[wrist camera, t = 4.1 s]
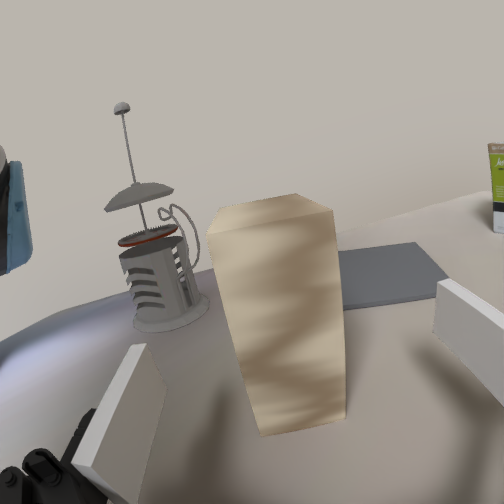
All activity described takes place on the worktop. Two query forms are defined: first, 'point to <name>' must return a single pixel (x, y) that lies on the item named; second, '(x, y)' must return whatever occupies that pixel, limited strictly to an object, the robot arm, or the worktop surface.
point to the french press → (157, 261)
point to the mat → (387, 275)
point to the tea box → (497, 184)
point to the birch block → (283, 308)
